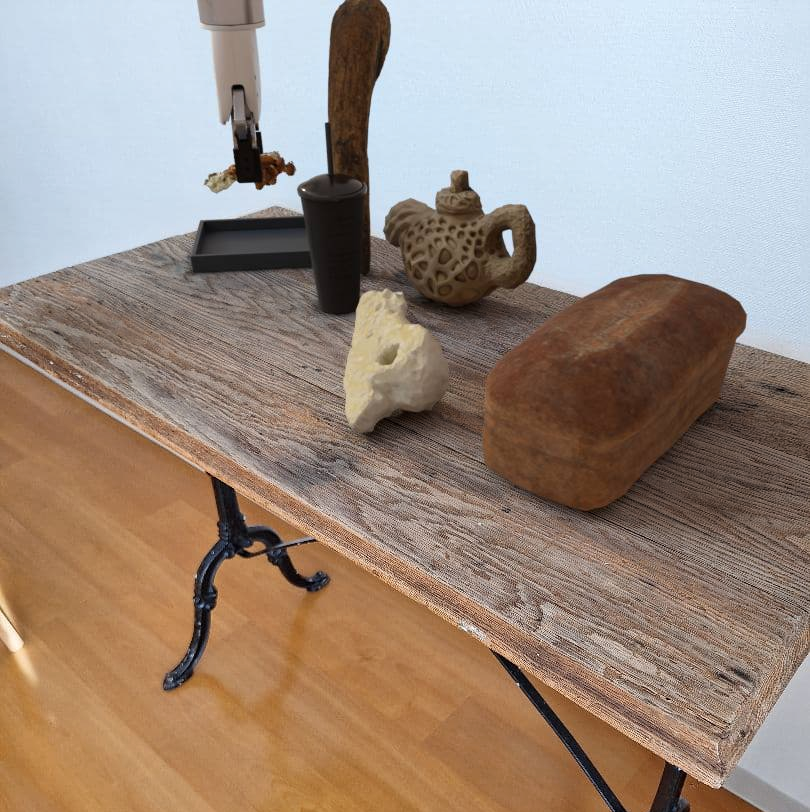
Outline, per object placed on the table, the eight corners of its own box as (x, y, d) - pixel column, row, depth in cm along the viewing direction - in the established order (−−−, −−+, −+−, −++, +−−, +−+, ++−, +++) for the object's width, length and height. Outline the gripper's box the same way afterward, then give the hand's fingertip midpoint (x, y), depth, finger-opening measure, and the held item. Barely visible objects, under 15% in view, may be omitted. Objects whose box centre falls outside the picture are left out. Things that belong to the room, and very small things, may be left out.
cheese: (433, 470, 74) (506, 328, 75) (378, 432, 69) (456, 281, 71) (343, 446, 86) (407, 323, 87) (291, 411, 81) (360, 282, 82)
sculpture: (396, 262, 108) (392, -8, 89) (389, 284, 102) (383, 0, 83) (345, 261, 109) (330, -9, 89) (335, 282, 103) (317, 0, 84)
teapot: (359, 294, 100) (353, 164, 90) (419, 267, 107) (419, 143, 97) (500, 344, 89) (511, 203, 80) (557, 310, 96) (573, 176, 86)
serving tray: (193, 272, 106) (190, 256, 105) (202, 234, 117) (199, 220, 115) (324, 266, 107) (323, 250, 106) (321, 229, 118) (320, 214, 117)
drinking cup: (358, 322, 94) (349, 134, 81) (297, 314, 96) (279, 129, 83) (379, 296, 99) (374, 116, 87) (321, 289, 101) (307, 112, 88)
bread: (740, 398, 80) (775, 277, 72) (600, 541, 63) (627, 403, 55) (613, 358, 86) (632, 243, 79) (456, 477, 70) (461, 346, 62)
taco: (195, 185, 105) (191, 156, 103) (274, 168, 111) (272, 140, 108) (223, 199, 101) (218, 168, 98) (303, 180, 107) (301, 151, 104)
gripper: (205, 3, 101) (226, 156, 112) (191, 23, 87) (217, 195, 99) (266, 1, 101) (281, 154, 113) (261, 21, 88) (279, 192, 99)
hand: (251, 172), depth 106 cm, fingers closed on taco, 7 cm apart
